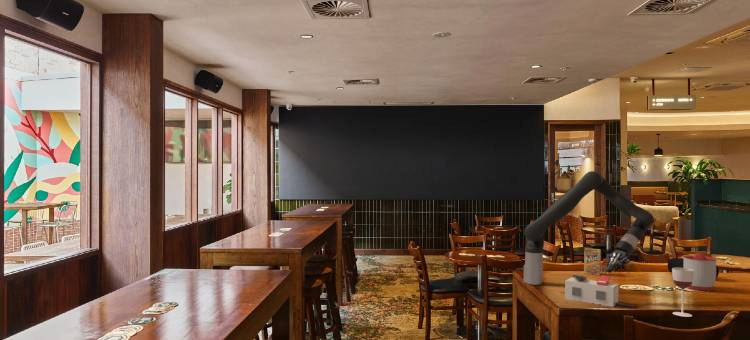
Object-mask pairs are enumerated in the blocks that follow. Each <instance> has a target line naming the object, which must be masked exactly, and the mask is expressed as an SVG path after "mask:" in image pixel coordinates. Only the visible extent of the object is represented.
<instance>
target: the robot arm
mask: <svg viewBox="0 0 750 340" xmlns="http://www.w3.org/2000/svg"><path fill="white" fill-rule="evenodd" d="M594 190H595V191H596V192H598V193H600V194H601V195H602V196H603V197H605V198H606V199H608V201H610V203H611V204H612V205H614V207H615V208H617V210H619V211H620V212H621V213H623V214H624V215H625V216H627V217H633V218H635V220H634V221H633V223H632V224H631V226H630V228H629V229H627V231H626V233H625V234H624V235H623V236H622V237H621V238H620V240H619V241H618V242H617V244H616V245H615V248H614V250H613V251H612V252H611V253H606V263H607V264H608V265H607V267H605V271H606V272H607V273H609V274H610V273H612V272H613V271H614V269H615V268H617V267H618V268H620V267H623V266H625V265H626V264H629V263H630V260H629V257H630V256H631V255H632V253H634V251H635V249H636V248H637V246H638V244H639V243H640V241H641V240H642V239H643V236H644V234H645V233H646V231H647V230H648V229H649V228H650V227H651V226H652V225H653V224H654V223H655V217H654V216H653V215H654V214H652V213H651V212H649V211H648V210H646V209H645V208H642V207H640V206H638V205H637V204H635V203H634V202H633V201H631V200H630V199H629V198H628V197H626V196H625V195H624V194H622V193H621V192H620V191H618V190H617V189H616V188H615V187H613V186H612V185H611V184H610V183H609V182H608V181H607V180H606V179H605V178H604V177H603V175H602V174H601V173H600V172H599V171H596V170H595V171H593V170H592V171H588V172H586V173H585V174H584V175H583V176H582V177H581V178H580V180H579V181H577V183H576V184H575V185H574V186H573V187H572V188H570V189H568V190H567V191H565V193H563V194H562V195H561V196H559V198H557V199H556V200H555V201H554V202H553V203H552V204H551V205H550V206H549V207H548V208H547V209H546V210H545V211H544V212H543V213H542V214H541V215H540V216H539V217H538V218H537V219H535V220H534V221H532V222H531V223H530V224H527V226H526V227H525V228H524V232H523V233H524V236H525V238H526V245H525V254H524V255H525V258H524V259H525V261H524V265H523V283H525V284H529V285H534V286H535V285H536V286H537V285H542V284H543V264H544V263H543V261H544V260H543V259H544V257H543V255H544V251H543V250H544V245H545V244H544V243H545V232H546V231H547V230H548V229H549V228H550V227H552V225H555V224H556V223H558V222H559V221H560V220H562V219H563V218H565V217H566V216H567V215H568V214H570V213H571V212H572V211H573V210H574V209H575V208H576V206H578V205H579V203H581V201H582V199H583V198H584V197H585V196H587V195H588V194H589V193H591V192H592V191H594Z"/></svg>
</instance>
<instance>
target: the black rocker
mask: <svg viewBox="0 0 750 340" xmlns="http://www.w3.org/2000/svg"><path fill="white" fill-rule="evenodd" d="M572 278H575V280H582V281H584V279H586V280H588V278H587V276H583V275H580V274H572Z"/></svg>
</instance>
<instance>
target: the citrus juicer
mask: <svg viewBox="0 0 750 340" xmlns="http://www.w3.org/2000/svg"><path fill="white" fill-rule="evenodd" d="M682 258H683V259H684V267H683V268H689V269H693V270H694V279H693V283H692V285H691V286H690V287H688V288H687V289H690V290H692V291H695V290H696V291H704V292H710V291H712V290H713V288H714V287H715V283H716V280H717V279H716V265H717V260H718V259H717V258H715V257H712V256H711V257H710V256H705V254H703V253H702V252H701V251H700V252H699V251H698V252H697V253H696V254H695V255H689V254H688V255H683V257H682Z"/></svg>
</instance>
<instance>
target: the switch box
mask: <svg viewBox="0 0 750 340" xmlns="http://www.w3.org/2000/svg"><path fill="white" fill-rule="evenodd" d="M597 281H598V280H594V279H593V280H592V279H587V280H586V279H584V281H582V280H575V277H573V276H572V277H569V278H568V279H565V280H564V300H568V301H574V300H575V301H574V302H580V301H581V302H582V303H586V302H587V303H588V304H592V303H594V305H599V304H601V305H600V306H604V307H605V306H606V307H615V306H620V307H621V306H623V307H628V308H633V309H635V305H634V304H629V303H620V302H619V283H615V282H609V283H608V284H607V285H606V286H604V285H597ZM587 303H586V304H587Z"/></svg>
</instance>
